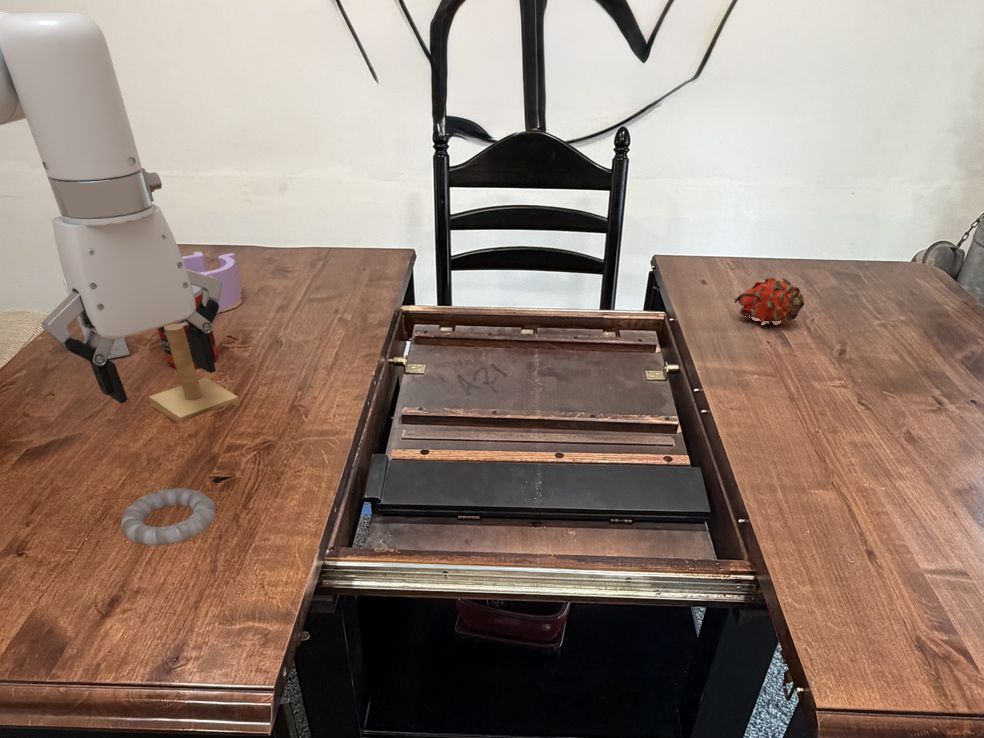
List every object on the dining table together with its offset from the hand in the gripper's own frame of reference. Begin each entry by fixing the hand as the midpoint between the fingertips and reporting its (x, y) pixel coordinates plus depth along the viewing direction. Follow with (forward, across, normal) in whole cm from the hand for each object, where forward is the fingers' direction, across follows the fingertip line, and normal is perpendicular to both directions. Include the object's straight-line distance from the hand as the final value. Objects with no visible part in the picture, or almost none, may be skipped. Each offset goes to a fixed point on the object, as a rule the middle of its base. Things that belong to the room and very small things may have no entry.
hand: (163, 383), depth 73 cm
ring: (+14, +4, +1) cm, 15 cm away
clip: (+16, -34, -59) cm, 70 cm away
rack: (+16, -13, -24) cm, 32 cm away
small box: (+15, -13, -52) cm, 56 cm away
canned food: (+16, -21, -39) cm, 47 cm away
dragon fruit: (+17, -103, +19) cm, 106 cm away
